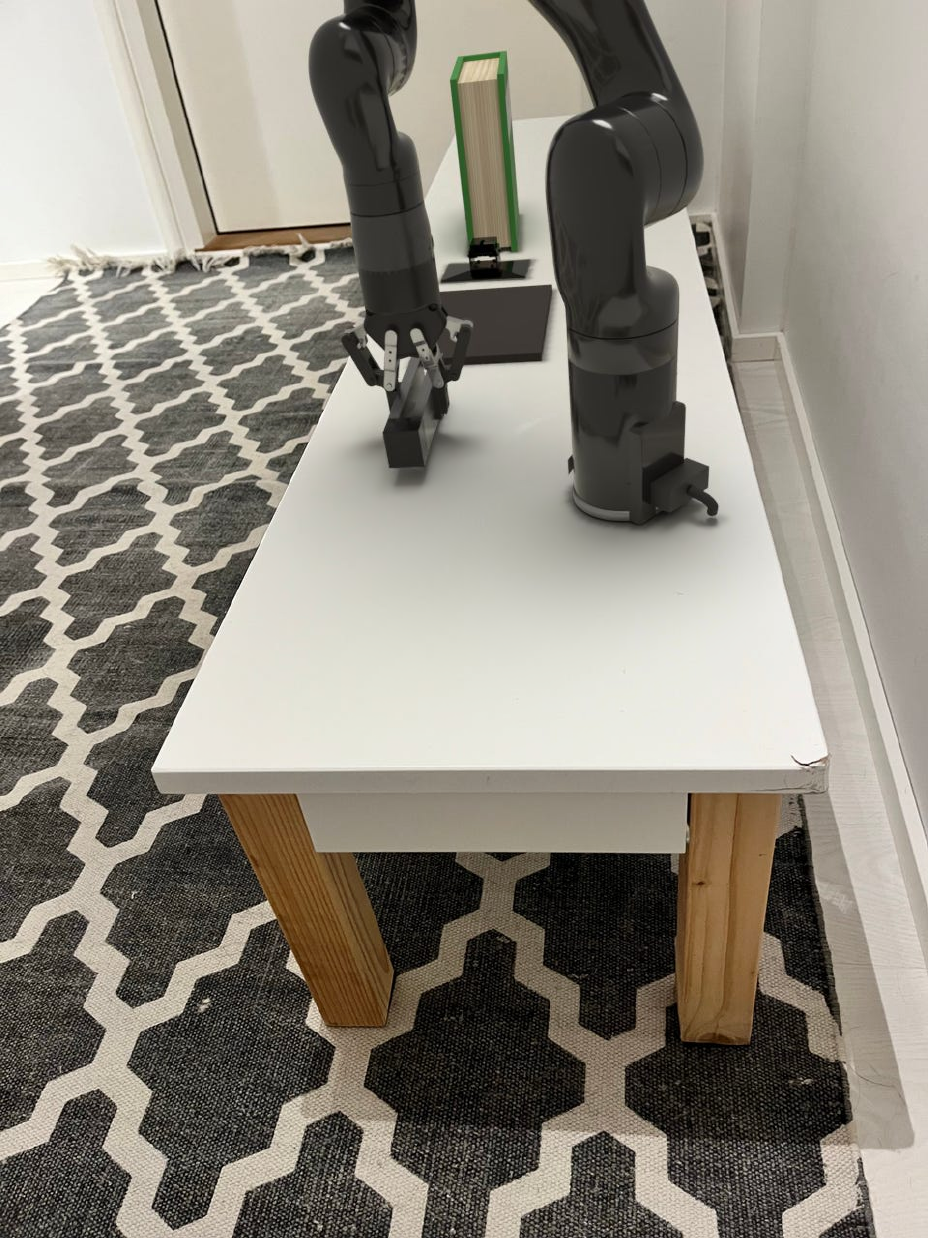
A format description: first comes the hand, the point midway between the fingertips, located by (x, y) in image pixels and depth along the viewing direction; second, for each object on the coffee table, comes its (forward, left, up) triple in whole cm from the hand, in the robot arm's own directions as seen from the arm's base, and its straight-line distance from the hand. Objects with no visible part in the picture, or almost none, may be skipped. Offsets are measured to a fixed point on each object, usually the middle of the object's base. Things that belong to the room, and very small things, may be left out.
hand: (421, 416), depth 102 cm
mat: (+16, -24, -2) cm, 29 cm away
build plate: (+31, -37, -2) cm, 49 cm away
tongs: (0, 0, 0) cm, 0 cm away
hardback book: (+43, -49, -2) cm, 65 cm away
